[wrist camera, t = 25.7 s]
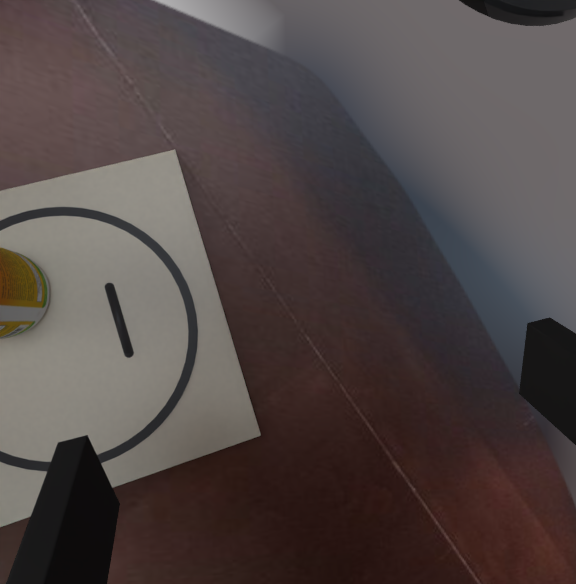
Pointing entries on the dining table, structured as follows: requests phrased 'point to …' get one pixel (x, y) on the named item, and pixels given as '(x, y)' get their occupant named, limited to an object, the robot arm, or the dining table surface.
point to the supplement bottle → (20, 293)
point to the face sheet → (116, 331)
